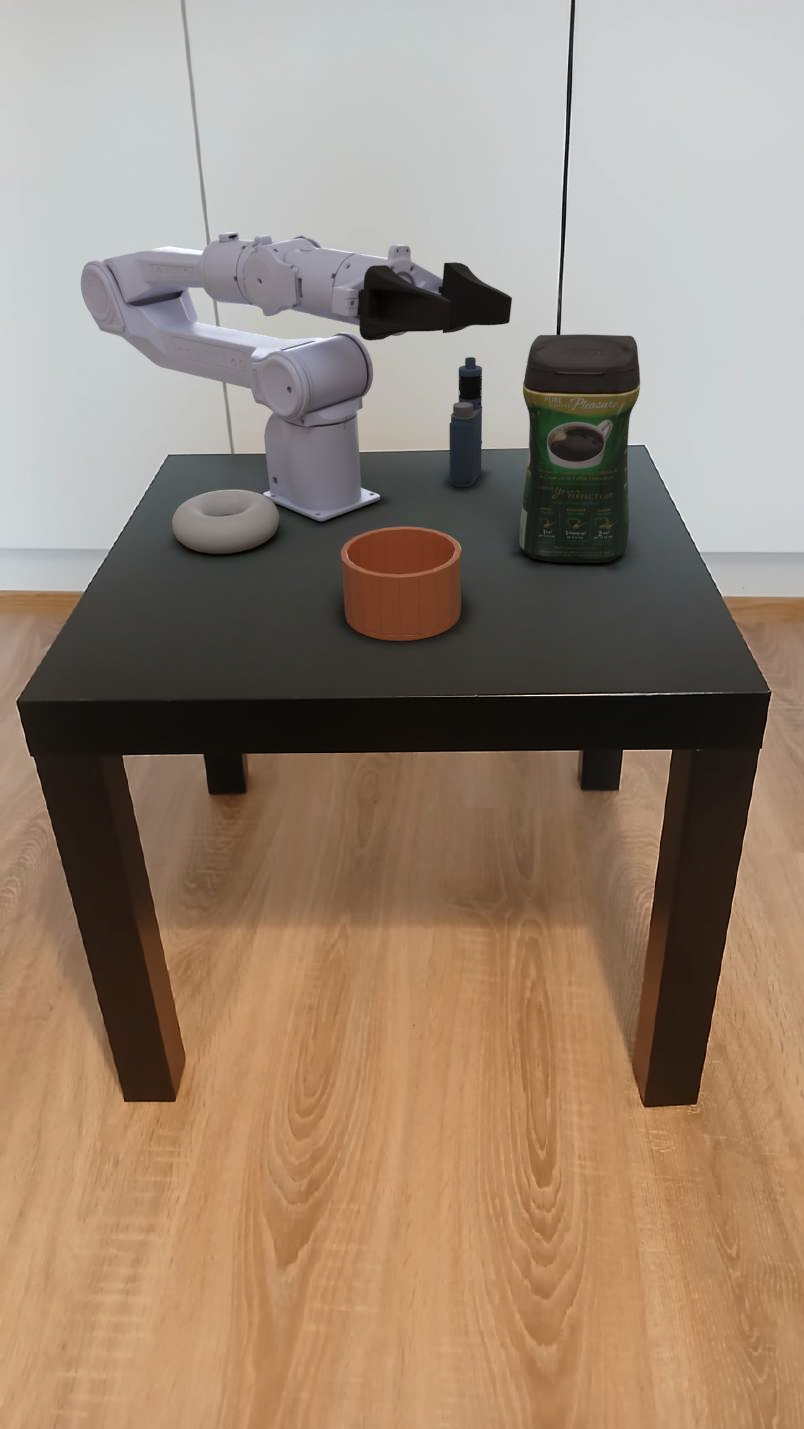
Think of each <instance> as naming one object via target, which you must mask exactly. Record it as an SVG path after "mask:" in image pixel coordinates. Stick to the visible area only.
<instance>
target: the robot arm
mask: <svg viewBox="0 0 804 1429" xmlns="http://www.w3.org/2000/svg"><path fill="white" fill-rule="evenodd" d="M189 288H191V289H193V288H194V289H196V288H197V289H203V290H204V292H205V293H206V295H208V296H209V298H211V299H212V300H214V301H216V302H218V303H223V304H233V305H243V306H252V307H258V308H260V309H261V310H262V314H263V316H265V317H273V316H276V315H278V314H280V313H281V312H286V311H290V310H291V311H294V312H299V313H302V314H303V313H304V314H308V315H310V316H314V317H318V318H322V319H323V318H324V319H328V320H332V321H337V322H341V323H346V324H349V325H355V326H358V327H359V328H358V329H359V330H358V331H359V334H360V337H361V338H362V339H364V340H365V341H381V340H384V339H386V338H389V337H391V336H393V337H398V336H402V335H405V334H407V333H408V332H409V333H410V332H413V333H414V332H415V333H416V332H438V331H440V332H441V331H442V334H448V333H449V334H451V333H456V332H459V331H462V330H464V329H466V328H469V327H472V326H499V325H500V326H501V325H506V324H509V323H510V321H511V313H512V312H511V311H512V303H513V297H512V296H511V295H509V294H508V293H505V292H503V291H502V290H500V289H498V288H496V287H493V286H491V285H490V284H487V283H486V282H484V281H483V280H481V279H480V278H479V277H477V276H476V275H475V274H474V272H472V271H471V269H470V268H469V266H468V265H466V264H464V263H461V262H452V261H451V262H444V263H443V271H442V278H441V277H440V276H438V275H437V274H435V273H433V272H431V271H429V270H428V269H426V268H425V267H422V266H421V265H419V264H417V263H416V262H415V261H413V260H412V257H411V248H410V246H409V245H406V244H392V245H390V247H389V248H388V252H387V257H382V256H376V255H371V254H363V253H359V252H352V251H348V250H347V251H346V250H342V249H341V250H340V249H335V248H330V247H322V246H321V244H319V243H318V242H317V241H316V240H315V239H314V238H313V239H312V238H309V237H307V236H304V235H298V236H295V237H293V238H292V239H289V240H284V241H283V240H282V241H278V242H276V241H273V238H272V236H271V235H267V234H263V235H262V234H261V235H257V236H255V237H254V238H253V239H240V234H239V232H238V231H228V232H223V233H219V234H218V239H215V240H212V241H211V242H209V243H208V244H207V245H206V246H205V247H204V249H203V250H198V249H192V248H191V249H190V248H183V247H177V246H160V247H157V248H150V249H146V250H139V251H135V252H130V253H126V254H122V255H117V256H113V257H109V258H106V259H105V258H104V259H103V260H91V261H88V262H86V263H85V265H84V266H83V268H82V272H81V276H80V292H81V295H82V300H83V302H84V305H85V306H86V308H87V310H88V311H89V313H90V314H91V317H92V318H93V320H94V323H95V324H96V325H97V327H98V329H99V330H100V331H101V332H104V333H107V334H111V335H114V336H117V337H121V338H122V339H124V340H125V341H126V342H127V343H128V344H130V345H131V346H132V347H133V348H134V349H136V350H137V351H138V352H139V353H141V354H142V355H143V356H144V357H145V358H147V359H148V360H149V361H151V363H153V365H155V366H158V367H160V368H162V369H166V370H171V371H176V372H178V373H184V374H187V375H192V376H196V377H201V378H204V379H207V380H211V381H212V380H213V381H217V382H221V383H225V384H229V385H233V386H237V387H241V388H245V389H250V390H251V393H252V396H253V399H254V400H253V401H254V403H256V404H257V405H258V404H259V405H262V406H265V407H266V408H268V409H269V410H270V411H271V412H272V413H271V414H270V416H269V417H268V420H267V422H266V425H265V428H264V435H263V437H264V448H265V450H264V451H265V460H266V468H267V477H268V488H269V490H268V491H265V492H263V493H262V495H264V496H265V497H267V498H268V499H270V500H271V501H272V502H273V503H274V504H277V505H279V506H282V507H284V508H286V509H289V510H290V511H293V512H296V513H298V514H300V515H303V516H305V517H308V518H309V519H312V520H315V521H317V522H325V521H328V520H330V519H332V518H335V517H338V516H340V515H344V514H347V513H349V512H351V511H355V510H358V509H360V508H362V507H365V506H367V505H370V504H373V503H376V502H378V501H381V495H380V494H378V493H376V492H374V491H371V490H368V489H365V488H363V487H362V477H361V458H360V439H359V421H358V420H359V418H358V411H360V410H361V409H363V406H364V405H363V398H364V397H365V396H366V395H367V394H368V393H369V391H370V390H371V388H372V385H373V380H374V366H373V362H372V357H371V355H370V352H369V350H368V349H367V347H366V345H365V343H364V342H363V341H362V340H361V339H360V338H359V337H358V336H356V335H355V334H353V333H351V332H347V331H343V332H342V331H341V332H338V333H336V334H334V335H332V336H330V337H326V338H323V337H305V338H293V339H286V338H285V339H284V338H279V337H274V336H269V335H264V334H259V333H255V332H254V333H253V332H248V331H243V330H238V329H233V328H228V327H222V326H217V325H212V324H207V323H202V322H198V320H199V317H198V313H197V310H196V308H195V304H194V302H193V299H192V296H191V293H190V290H189Z"/></svg>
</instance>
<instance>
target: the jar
mask: <svg viewBox="0 0 804 1429" xmlns="http://www.w3.org/2000/svg"><path fill="white" fill-rule="evenodd" d="M462 553H463V552H462V547H461V545H460V542H459V541H458V540H456V539H455V538H453V536H451V535H449V534H447V533H444V532H442V531H439V530H437V529H431V528H427V527H419V526H392V527H382V528H378V529H373V530H368V531H366V532H363V533H360V534H358V535H355V536H354V537H352V538H351V539H349V540H348V541H347V542H345V543H344V544H343V546H342V548H341V550H340V566H341V580H342V581H341V582H342V595H343V609H344V617H345V621H346V622H347V624H348V626H350V628H352V629H353V630H354V631H356V632H357V633H359V634H362V635H364V636H366V637H369V638H372V639H377V640H383V641H393V642H407V641H417V640H424V639H428V638H432V637H434V636H438V635H440V634H443V633H445V632H446V631H448V630H450V629H452V628H453V627H454V626H455V625H456V624H457V623H458V621H459V620H460V617H461V614H462V606H463V605H462V602H463V601H462V599H463V597H462V590H463V587H462V584H463V583H462V582H463V580H462V578H463V576H462V574H463V573H462V571H463V570H462V568H463V566H462V564H463V562H462V560H463V559H462V558H463V554H462Z"/></svg>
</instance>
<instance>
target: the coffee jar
mask: <svg viewBox="0 0 804 1429" xmlns="http://www.w3.org/2000/svg"><path fill="white" fill-rule="evenodd" d="M637 344H638V343H637V342H636V339H635V338H634V336H633V335H616V334H614V335H613V334H589V333H588V334H583V333H581V334H579V333H578V334H575V333H574V334H539V335H537V337H536V338H535V339H534V340H533V341H532V343H531V345H530V348H529V352H528V355H527V361H526V367H525V371H524V372H525V373H524V379H523V382H522V396H523V399H524V403H525V406H526V408H527V412H528V418H529V420H528V421H529V433H528V434H529V435H528V452H527V464H526V471H525V472H526V473H525V481H524V488H523V496H522V504H521V513H520V521H519V522H520V523H519V546H520V549H521V551H522V552H524V554H526V555H527V556H529V557H530V558H532V559H535V560H539V561H546V562H556V563H557V562H558V563H559V562H560V563H578V564H580V563H582V564H583V563H585V564H586V563H587V564H591V563H592V564H593V563H594V564H595V563H596V564H597V563H598V564H599V563H608V562H612V561H613V560H615V559H617V558H619V557H621V556H622V555H623V554H624V553H625V551H626V549H627V547H628V540H629V528H630V527H629V526H630V525H629V522H630V520H629V519H630V511H629V510H630V509H629V508H630V507H629V506H630V505H629V478H628V474H629V473H628V450H629V449H628V446H629V431H630V430H629V429H630V418H631V414H632V412H633V409H634V407H635V405H636V403H637V402H638V399H639V396H640V390H641V376H640V375H641V373H640V372H641V371H640V363H639V352H638V351H639V350H638V345H637Z"/></svg>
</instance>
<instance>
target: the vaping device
mask: <svg viewBox="0 0 804 1429" xmlns="http://www.w3.org/2000/svg"><path fill="white" fill-rule="evenodd" d="M476 360H477V358H476V357H474V356H469V357H465V359H464V365H460V366H459V367H458V401H457V402H455V403H453V404H452V413H451V414H450V422H449V425H448V426H449V428H448V429H449V431H448V432H449V479H450V483H451V485H452V486H453V487H457V488H469V487H472V486H473V485H474V484H475V482H476V481H478V479H479V477H480V476H481V475H482V449H483V448H482V447H483V446H482V445H483V439H482V438H483V434H482V433H483V432H482V431H483V404H482V399H483V398H482V397H483V367H482V366H481V365H478V364H476V363H477V361H476Z"/></svg>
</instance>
